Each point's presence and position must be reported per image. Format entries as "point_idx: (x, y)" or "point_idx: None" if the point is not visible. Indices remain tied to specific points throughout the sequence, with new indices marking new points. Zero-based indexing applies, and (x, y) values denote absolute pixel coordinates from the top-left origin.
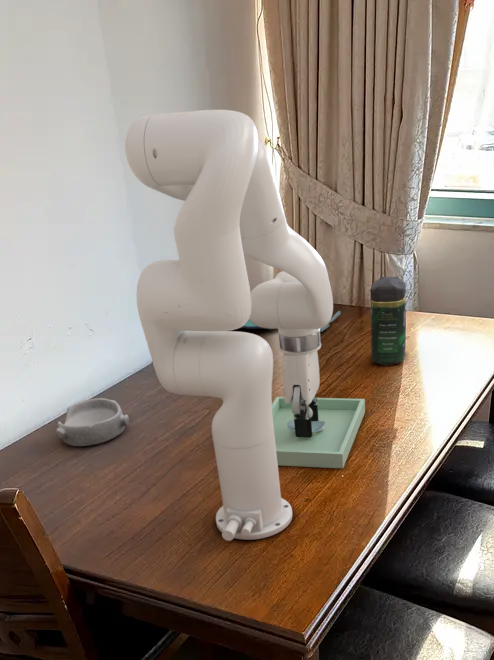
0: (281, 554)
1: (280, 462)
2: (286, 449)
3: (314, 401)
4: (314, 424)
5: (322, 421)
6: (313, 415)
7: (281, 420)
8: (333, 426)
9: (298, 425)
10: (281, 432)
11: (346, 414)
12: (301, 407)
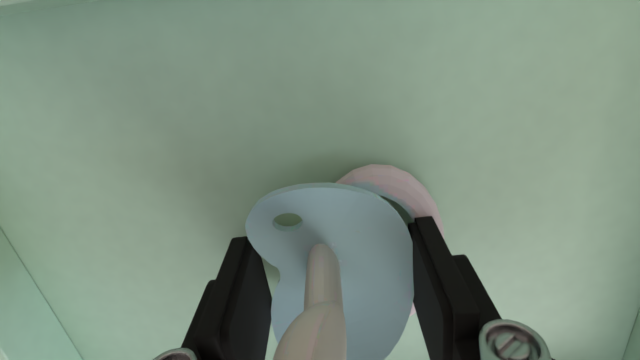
0: None
1: None
2: (115, 212)
3: None
4: (383, 297)
5: (389, 350)
6: (424, 322)
7: (505, 19)
8: None
9: (192, 328)
10: (310, 100)
11: (571, 347)
12: None
